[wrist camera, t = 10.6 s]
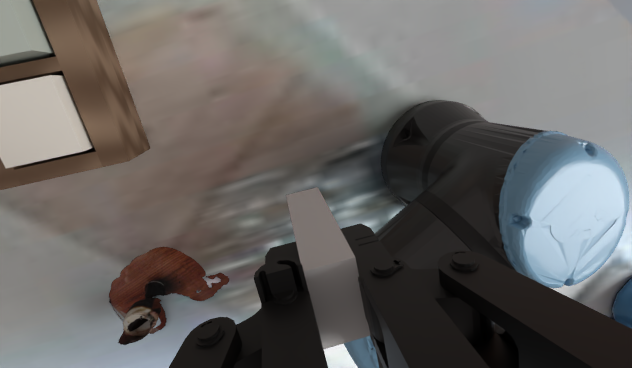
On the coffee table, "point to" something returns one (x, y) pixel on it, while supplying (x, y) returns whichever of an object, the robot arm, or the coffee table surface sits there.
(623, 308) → the wine bottle
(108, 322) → the coffee table surface
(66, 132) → the cream key
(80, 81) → the frame
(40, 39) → the slate key
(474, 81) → the coffee table surface
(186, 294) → the figurine
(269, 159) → the coffee table surface
